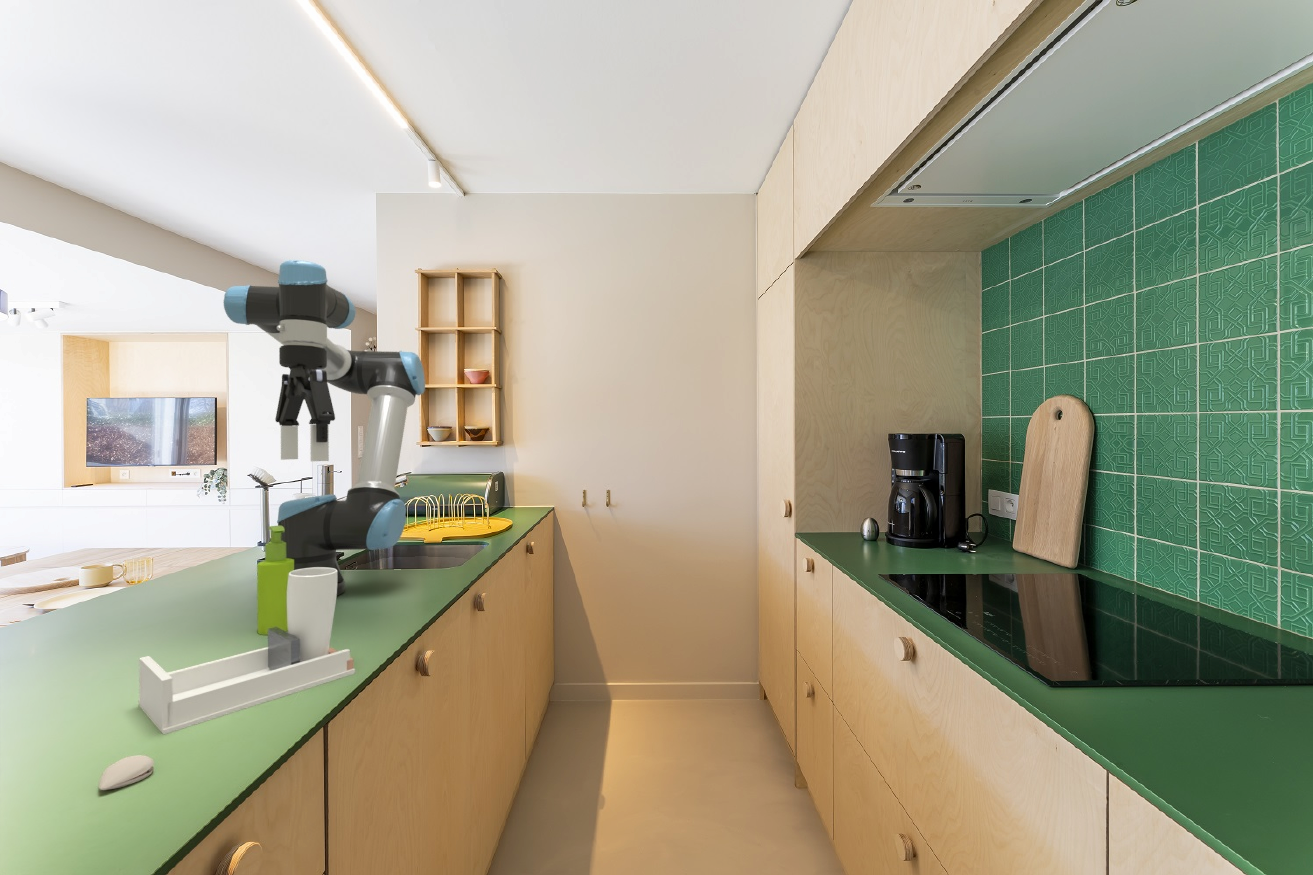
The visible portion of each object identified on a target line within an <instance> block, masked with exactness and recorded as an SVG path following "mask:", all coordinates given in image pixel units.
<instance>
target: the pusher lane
mask: <svg viewBox="0 0 1313 875" xmlns="http://www.w3.org/2000/svg"><path fill="white" fill-rule="evenodd" d="M138 664H139V665H138V666H139V668H138V672H139V675H138V676H139V680H138V681H139V689H138V690H139V692H138V693H139V700H138V707H139V708H141V710H142V711H143V712H144V714H146V715H147V717H148V718H149V719H150V720H151V722H152V723H153V724H154V725H155V726H156V728H158V730H159V731H160V733H162V735H167V734H169V733H170V734H171V733H173V732H176V731H179V730H182V729H186V728H188V727H191V726H195V725H197V724H201V723H205V722H207V721H210V720H213V719H217V718H219V717H224V716H226V715H228V714H232V713H235V712H238V711H243V710H245V709H247V708H252V707H254V706H258V705H261V704H263V703H266V702H267V703H268V702H270V701H273V700H274V701H275V700H277V699H279V698H282V697H283V698H284V697H286V696H290V695H292V694H295V693H299V692H302V691H305V690H308V689H312V688H314V687H317V686H320V685H325V683H326V684H327V683H330V682H333V681H337V680H340V679H342V678H345V677H349V676H352V675H355V674H356V668H354V658H353V657H351V650H350V649H349V648H346V649H342V650H336V649H335V648H333V647H331V646H329V653H328V655H324V656H321V657H317V658H314V659H310V660H307V661H303V662H300V663H296V664H293V665H289V666H286V667H282V668H279V669H276V670H272V669H270V668H269V667H268V646H267V647H265V646H264V647H262V648H258V649H253V650H250V651H247V652H242V653H238V654H235V655H231V656H227V657H223V658H220V659H216V660H215V659H214V660H212V661H208V662H203V663H200V664H195V665H192V666H188V667H185V668H181V669H177V670H173V671H168V672H167V671H166V670H165V669H163V667H161V665H159V664H158V662H156V661H155V660H154V659H153V658H152V657H151V656H150V655H147V656H143V657H139V663H138Z"/></svg>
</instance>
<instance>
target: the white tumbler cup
mask: <svg viewBox="0 0 1313 875" xmlns="http://www.w3.org/2000/svg"><path fill="white" fill-rule="evenodd" d="M337 572H338V571H337V569H334V568H328V567H314V568H304V569H298V570H294V571H291V572H290V573H289V575H288V584H287V624H288V631H287V632H288V633H290V634H291V635H293V636H295V637H297V638H299V639H300V662H303V661H307V660H310V659H314V658H317V657H321V656H324V655H328V653H329V647H330V643H331V638H332V637H331V636H332V630H333V623H334V618H335V616H334V615H335V610H336V602H337V596H338V595H337V580H338V575H337Z"/></svg>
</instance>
